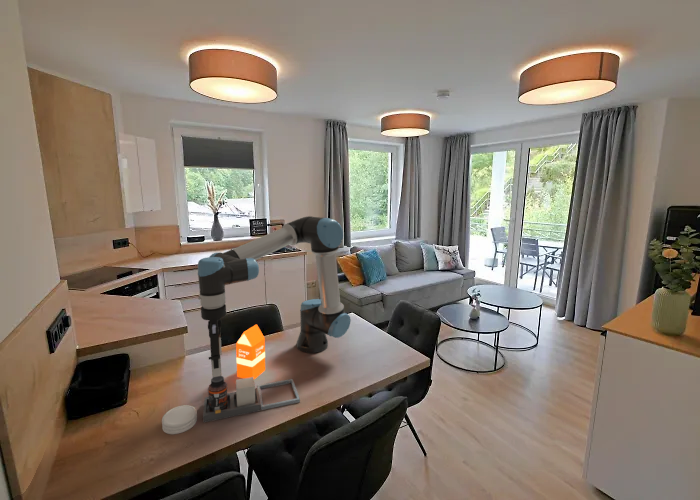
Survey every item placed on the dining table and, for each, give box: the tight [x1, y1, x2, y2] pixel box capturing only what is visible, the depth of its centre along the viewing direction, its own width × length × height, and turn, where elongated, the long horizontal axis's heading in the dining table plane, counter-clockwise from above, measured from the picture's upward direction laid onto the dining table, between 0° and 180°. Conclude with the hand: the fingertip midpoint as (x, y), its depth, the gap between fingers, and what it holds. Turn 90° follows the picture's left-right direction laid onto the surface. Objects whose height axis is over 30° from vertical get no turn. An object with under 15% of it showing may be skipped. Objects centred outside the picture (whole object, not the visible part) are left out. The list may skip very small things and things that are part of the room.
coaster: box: [161, 404, 198, 435], centre depth 105 cm, size 10×10×4 cm
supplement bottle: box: [207, 375, 228, 412], centre depth 111 cm, size 6×6×11 cm
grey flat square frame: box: [256, 378, 301, 411], centre depth 121 cm, size 14×14×1 cm
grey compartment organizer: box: [202, 377, 261, 424], centre depth 113 cm, size 18×10×8 cm, turn 111°
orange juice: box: [235, 324, 266, 380], centre depth 133 cm, size 8×9×20 cm
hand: (217, 365), depth 109 cm, fingers open, 13 cm apart
